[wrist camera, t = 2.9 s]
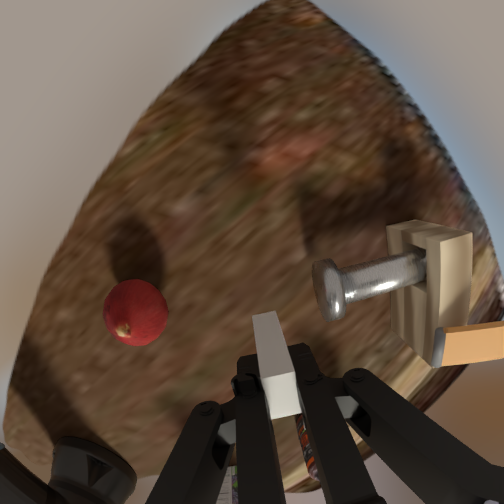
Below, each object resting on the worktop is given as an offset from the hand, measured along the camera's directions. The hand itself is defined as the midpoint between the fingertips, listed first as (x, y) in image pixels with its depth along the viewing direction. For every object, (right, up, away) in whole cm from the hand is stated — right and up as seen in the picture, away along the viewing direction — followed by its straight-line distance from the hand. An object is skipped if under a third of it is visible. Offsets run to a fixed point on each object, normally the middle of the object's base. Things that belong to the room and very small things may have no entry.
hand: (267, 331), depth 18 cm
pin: (+11, +4, +7) cm, 14 cm away
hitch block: (+16, +2, +11) cm, 19 cm away
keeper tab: (+18, -3, +1) cm, 18 cm away
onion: (-11, +1, +9) cm, 15 cm away
